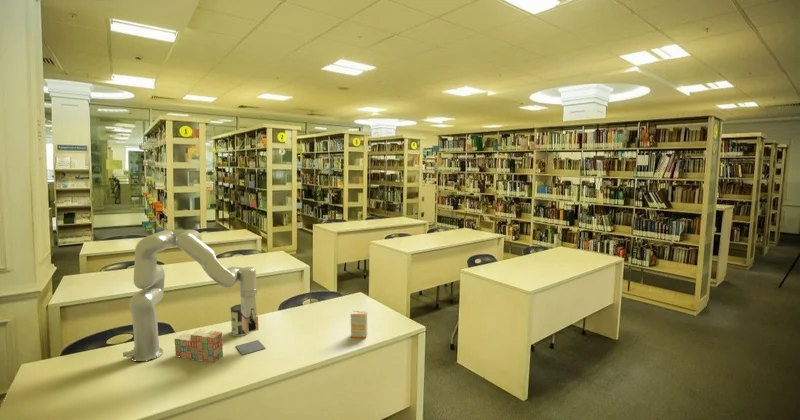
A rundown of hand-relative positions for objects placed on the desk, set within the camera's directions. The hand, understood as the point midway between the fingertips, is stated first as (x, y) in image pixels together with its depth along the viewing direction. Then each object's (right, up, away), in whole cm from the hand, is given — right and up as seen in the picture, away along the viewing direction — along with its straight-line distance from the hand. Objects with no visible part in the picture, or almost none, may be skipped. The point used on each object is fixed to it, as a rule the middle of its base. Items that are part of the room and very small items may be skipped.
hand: (250, 327), depth 188 cm
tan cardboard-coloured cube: (0, -1, 0) cm, 1 cm away
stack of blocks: (-21, -12, -8) cm, 25 cm away
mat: (0, -10, +1) cm, 10 cm away
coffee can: (-12, -9, +19) cm, 24 cm away
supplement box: (+52, -9, +15) cm, 55 cm away
